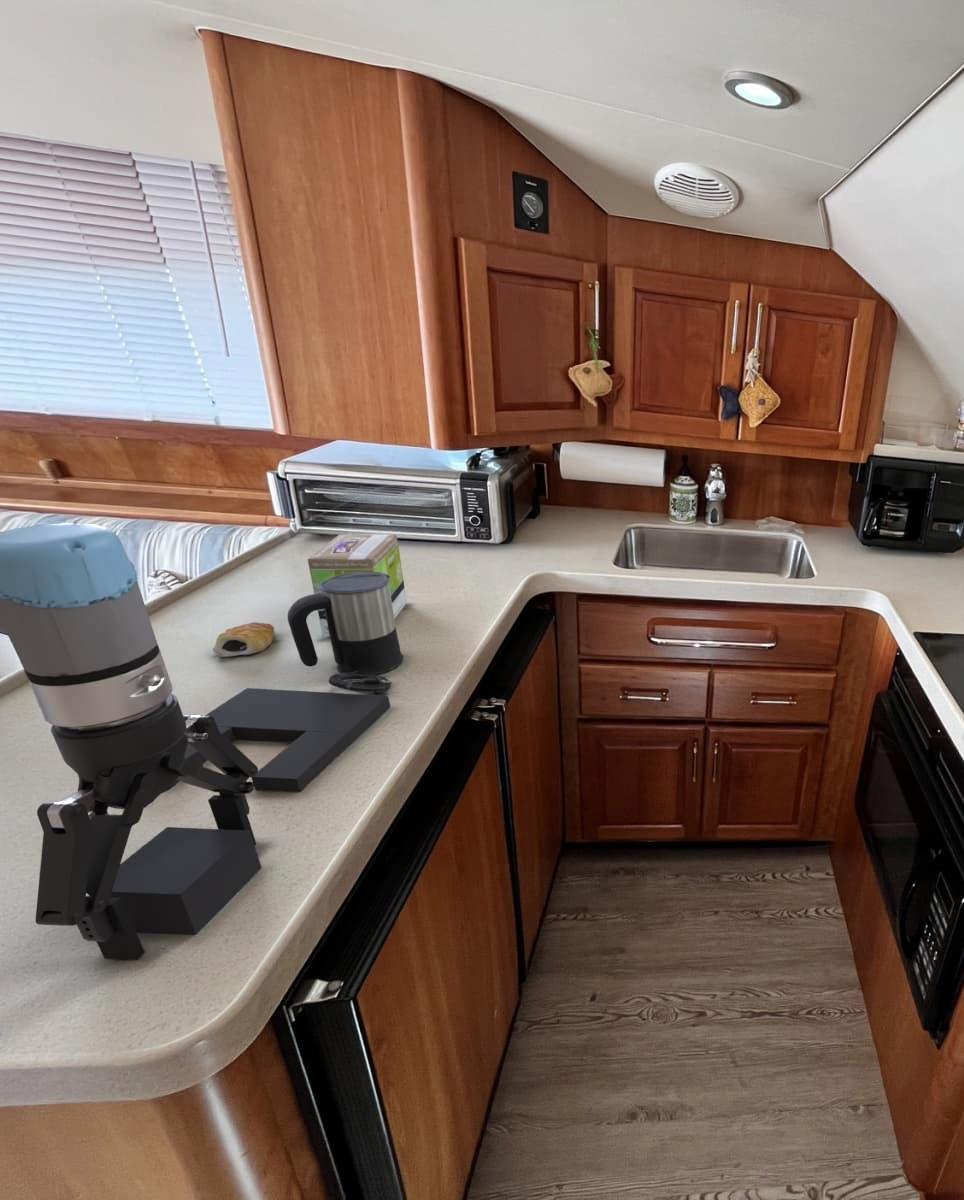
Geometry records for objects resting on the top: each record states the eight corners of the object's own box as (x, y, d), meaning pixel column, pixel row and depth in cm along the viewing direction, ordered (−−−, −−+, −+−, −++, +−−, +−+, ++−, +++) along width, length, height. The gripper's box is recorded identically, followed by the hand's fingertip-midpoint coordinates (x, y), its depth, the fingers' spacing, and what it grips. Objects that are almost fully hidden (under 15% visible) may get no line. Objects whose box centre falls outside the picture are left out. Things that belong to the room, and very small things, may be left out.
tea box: (386, 635, 114) (372, 557, 108) (321, 638, 111) (303, 558, 105) (409, 602, 127) (397, 532, 121) (351, 604, 124) (336, 532, 118)
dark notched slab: (125, 784, 75) (120, 770, 74) (250, 699, 93) (246, 687, 92) (300, 792, 76) (296, 778, 75) (390, 707, 94) (388, 695, 93)
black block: (104, 931, 58) (85, 891, 56) (181, 864, 65) (167, 826, 63) (196, 934, 58) (180, 894, 56) (262, 867, 66) (250, 830, 64)
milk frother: (382, 646, 110) (367, 566, 104) (443, 671, 104) (430, 588, 98) (291, 680, 98) (268, 592, 92) (354, 711, 92) (333, 618, 86)
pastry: (241, 633, 110) (236, 613, 109) (287, 632, 112) (282, 612, 111) (211, 658, 102) (205, 637, 100) (261, 656, 104) (256, 636, 102)
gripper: (-4, 808, 43) (105, 1021, 51) (269, 645, 65) (313, 811, 73) (-124, 803, 42) (5, 1018, 50) (192, 641, 65) (246, 808, 73)
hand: (188, 896), depth 62 cm, fingers open, 12 cm apart
